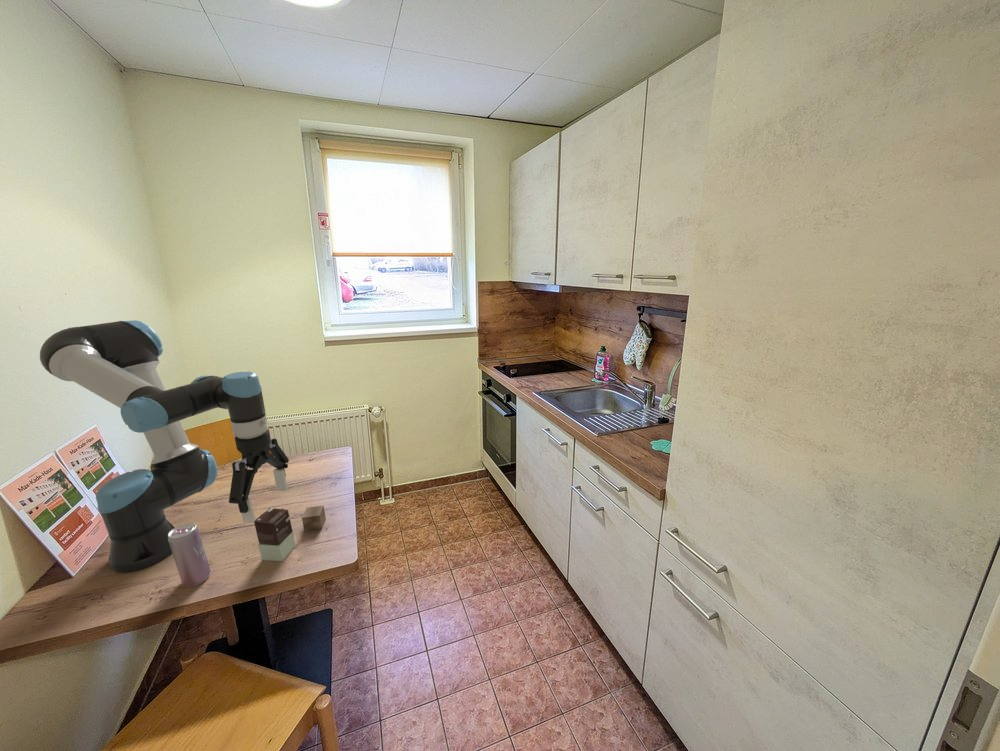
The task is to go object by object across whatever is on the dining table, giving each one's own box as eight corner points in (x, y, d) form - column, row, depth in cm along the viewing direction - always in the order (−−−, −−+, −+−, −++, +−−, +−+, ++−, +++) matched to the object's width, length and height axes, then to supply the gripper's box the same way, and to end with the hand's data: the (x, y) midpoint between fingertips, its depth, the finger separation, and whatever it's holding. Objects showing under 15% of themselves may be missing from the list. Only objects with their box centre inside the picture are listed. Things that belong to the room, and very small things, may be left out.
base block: (261, 560, 106) (258, 545, 105) (275, 544, 112) (272, 530, 111) (282, 561, 106) (279, 545, 104) (295, 545, 112) (292, 530, 110)
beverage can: (193, 570, 103) (178, 523, 99) (216, 569, 104) (202, 521, 99) (176, 588, 98) (160, 539, 93) (201, 587, 98) (186, 537, 94)
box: (277, 546, 104) (272, 523, 102) (258, 544, 105) (252, 521, 103) (293, 531, 110) (288, 509, 108) (274, 529, 111) (269, 507, 109)
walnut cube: (304, 531, 117) (301, 517, 116) (309, 521, 122) (306, 507, 121) (322, 529, 118) (319, 515, 117) (325, 519, 123) (323, 505, 121)
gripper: (229, 458, 86) (248, 537, 92) (294, 413, 110) (305, 479, 116) (197, 456, 87) (218, 535, 93) (269, 413, 110) (282, 478, 117)
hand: (267, 504), depth 105 cm, fingers open, 13 cm apart
